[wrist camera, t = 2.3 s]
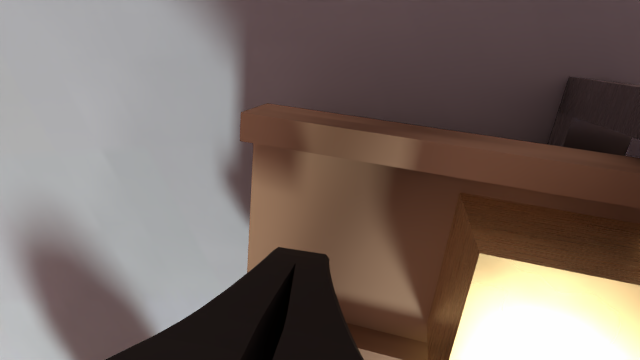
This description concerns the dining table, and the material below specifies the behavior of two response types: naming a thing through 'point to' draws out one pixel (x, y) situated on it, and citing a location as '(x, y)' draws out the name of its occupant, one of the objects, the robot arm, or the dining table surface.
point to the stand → (597, 116)
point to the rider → (535, 285)
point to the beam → (402, 205)
